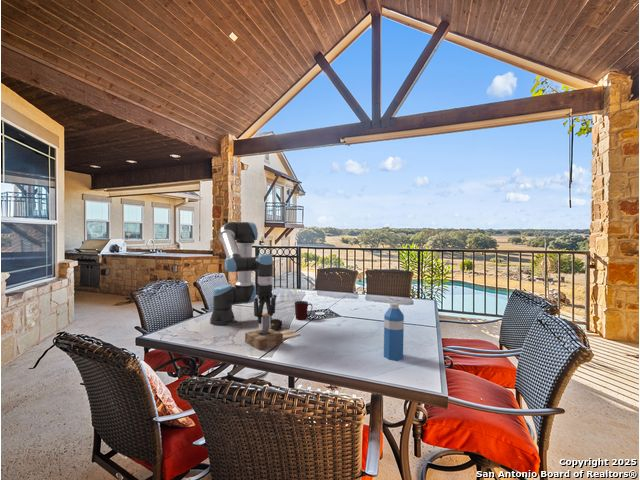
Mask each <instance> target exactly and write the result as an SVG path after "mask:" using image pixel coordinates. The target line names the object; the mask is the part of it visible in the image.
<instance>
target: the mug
mask: <svg viewBox="0 0 640 480" xmlns="http://www.w3.org/2000/svg"><path fill="white" fill-rule="evenodd" d="M309 306H311V307H313V304H312V303H309V302H308V301H305V300H296V301H294V313H295V320H298V321H304V320H307V318H309V317H310V316H311V315H312V311H313V308H311V309H310V313H309V314H308V311H309V310H308V308H309Z"/></svg>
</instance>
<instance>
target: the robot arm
mask: <svg viewBox="0 0 640 480" xmlns="http://www.w3.org/2000/svg"><path fill="white" fill-rule="evenodd" d="M258 235H259V233H258V228H257V225H256V224H255V223H254V222H250V221H245V222H244V221H242V222H241V221H229V222H227V223H224V224H223V225H222V226H220V228H219V230H218V235H217V236H218V239H219V242H221V244H222V246H223V247H222V248H223V250H224V253H225V256H226V257H225V259H224V270H225V272H227V273H235V272H237V280H236V281H237V282H235V286H233V285H232V284H223V285H222V284H221V285H218V286H216V287H214V288H213V292H212V297H213V298H212V313H211V315H210V318H209V323H210V324H211V325H214V326H222V325H223V326H225V325H230V324H233V323H234V322H235V321H236V320H235V318H236V317H235V315H234V312H233V306H234V305H241V304H242V305H244V304H252V303H253V315H254V317H255V318H257V324H258V330H263V317H262V313H264V306H265V305H266V306H265V307H266V311H267V312H266V313H268V314H269V328H270V321H271V320H273V319H272V318H273V317H272V316H273V315H275V314H276V300H277V295H276V294H273V293H272V292H273V263H274V260H273V255H272V254H269V253H268V254H266V253H265V254H264V253H263V254H262V253H261V254H258V255H257V256H254V257H253V255H252V254H253V245H255V243H256V241H257V240H258V237H259V236H258ZM256 271H257V288H256V286H255V285H254V282H253V281H252V272H256Z"/></svg>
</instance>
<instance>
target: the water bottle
mask: <svg viewBox="0 0 640 480" xmlns="http://www.w3.org/2000/svg"><path fill="white" fill-rule="evenodd" d="M383 318H384V320H383V321H384V323H383V324H384V325H383V330H384V331H383V358H385V359H387V360H389V361H402V360H404V327H405V326H404V325H405V315H404V313H403V312H402V310H401V309H400V305H399V303H398V302H390V303H389V308H388V309H387V310H386V312H385V313H384V317H383Z"/></svg>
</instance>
